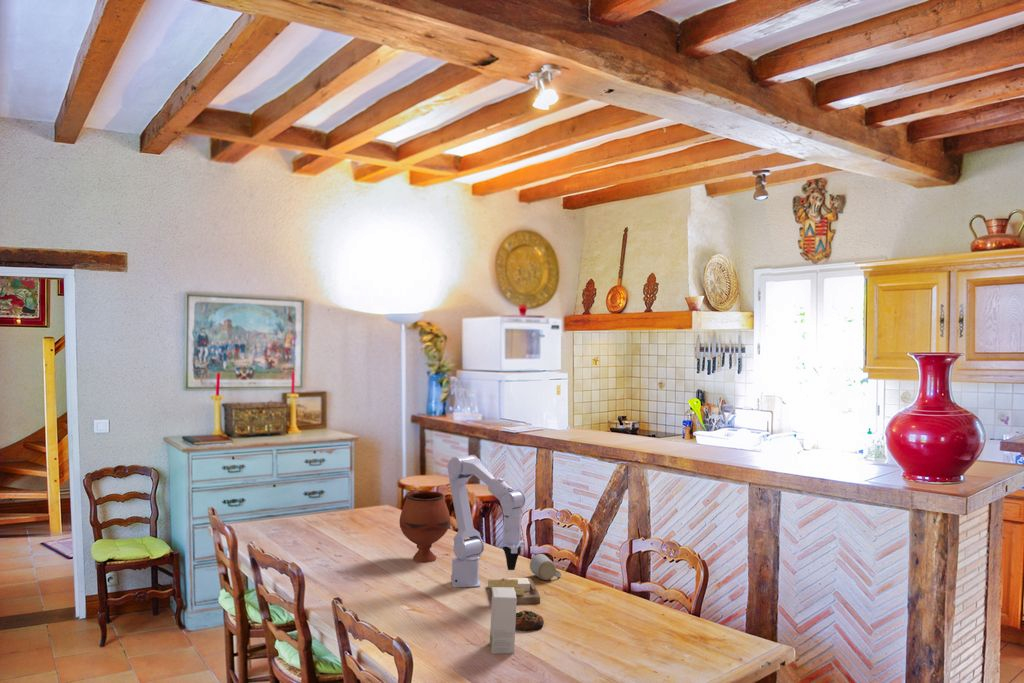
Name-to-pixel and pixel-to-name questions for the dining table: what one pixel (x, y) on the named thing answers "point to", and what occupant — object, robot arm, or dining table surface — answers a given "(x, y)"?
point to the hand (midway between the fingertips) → (511, 569)
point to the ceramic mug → (543, 567)
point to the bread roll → (528, 621)
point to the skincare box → (503, 620)
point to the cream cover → (522, 584)
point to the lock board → (527, 595)
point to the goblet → (424, 522)
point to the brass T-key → (506, 584)
